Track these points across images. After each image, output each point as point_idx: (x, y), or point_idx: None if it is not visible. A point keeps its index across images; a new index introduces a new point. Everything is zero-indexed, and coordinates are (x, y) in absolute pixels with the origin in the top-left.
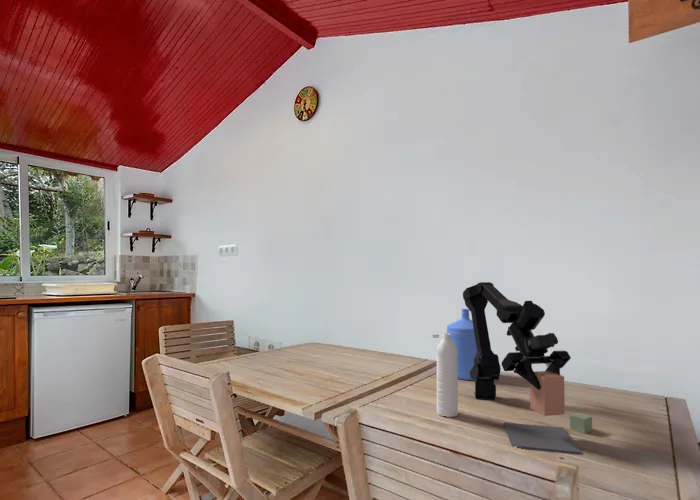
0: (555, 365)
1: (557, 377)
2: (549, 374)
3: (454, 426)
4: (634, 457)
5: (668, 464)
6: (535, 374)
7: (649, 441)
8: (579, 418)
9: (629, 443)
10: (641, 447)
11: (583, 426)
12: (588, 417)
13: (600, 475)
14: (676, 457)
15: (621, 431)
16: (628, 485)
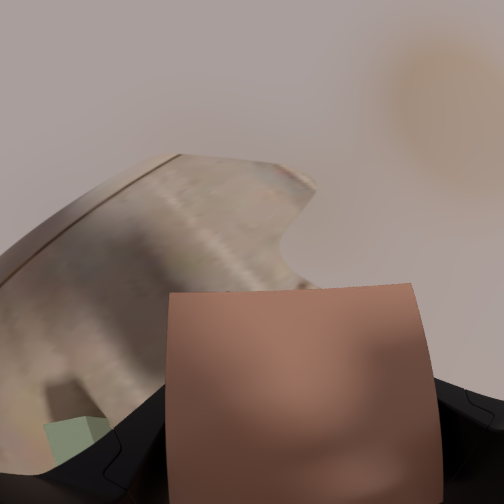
0: (93, 500)
1: (258, 294)
2: (291, 404)
3: None
4: (111, 260)
5: (81, 225)
6: (435, 419)
7: (7, 320)
8: (91, 434)
9: (50, 325)
10: (47, 299)
11: (98, 420)
12: (58, 423)
13: (264, 208)
14: (39, 246)
15: (8, 388)
16: (238, 178)
